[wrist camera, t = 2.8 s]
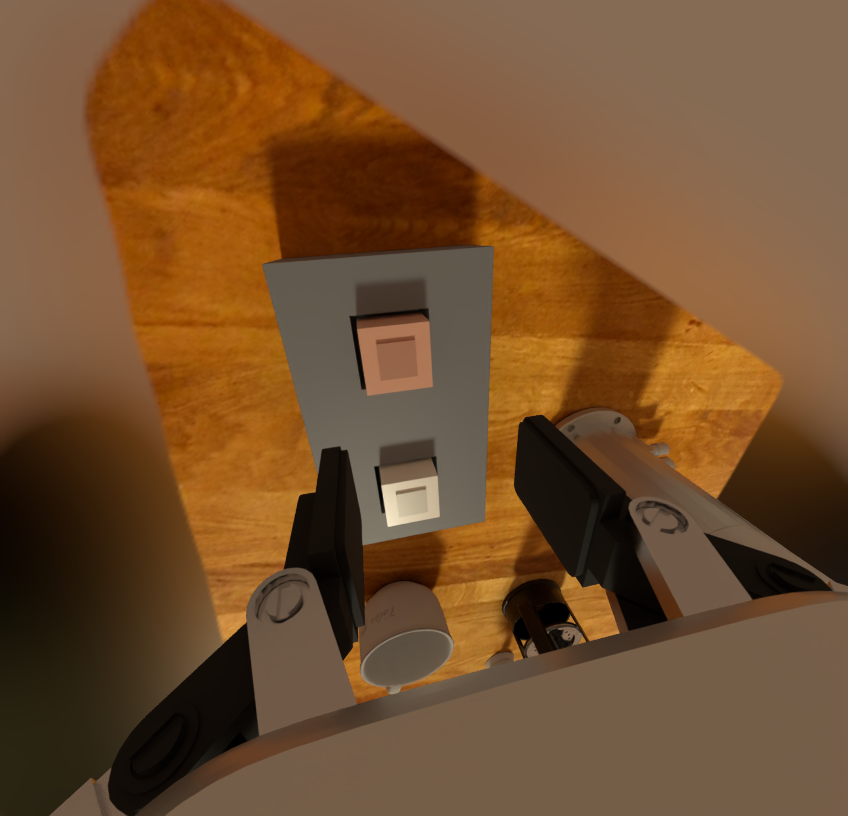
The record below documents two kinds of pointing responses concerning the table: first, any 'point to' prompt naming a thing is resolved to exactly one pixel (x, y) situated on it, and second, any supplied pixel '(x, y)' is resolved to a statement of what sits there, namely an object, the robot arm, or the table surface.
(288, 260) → the key console
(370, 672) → the teacup
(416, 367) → the key terracotta
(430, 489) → the key ivory
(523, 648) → the french press
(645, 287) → the table surface
